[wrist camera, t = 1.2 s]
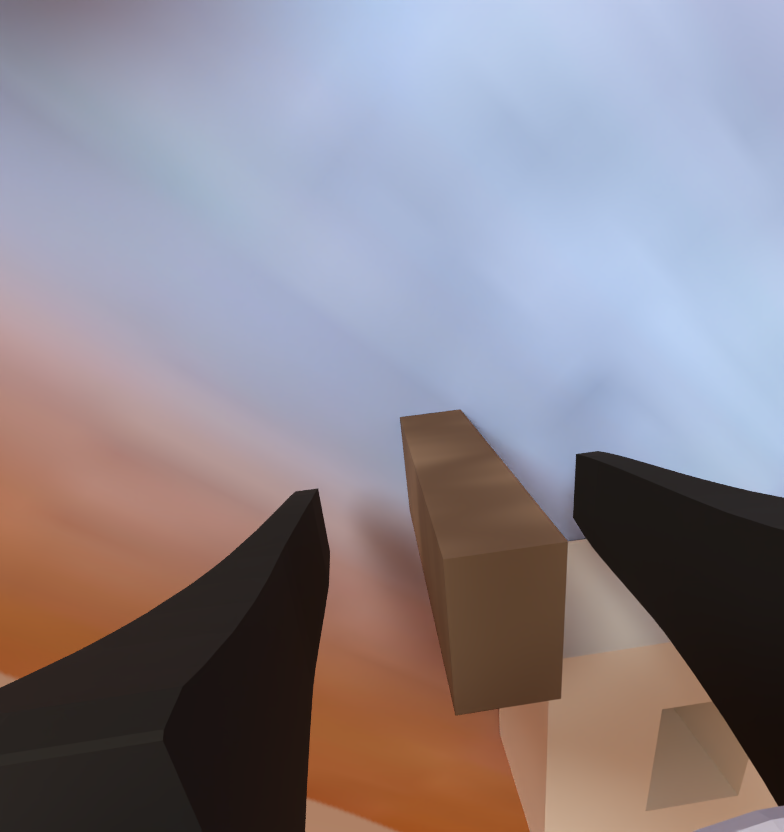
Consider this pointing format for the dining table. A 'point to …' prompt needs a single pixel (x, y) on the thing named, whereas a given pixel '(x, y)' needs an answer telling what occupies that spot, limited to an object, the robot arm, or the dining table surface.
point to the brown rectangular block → (485, 566)
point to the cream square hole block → (624, 726)
